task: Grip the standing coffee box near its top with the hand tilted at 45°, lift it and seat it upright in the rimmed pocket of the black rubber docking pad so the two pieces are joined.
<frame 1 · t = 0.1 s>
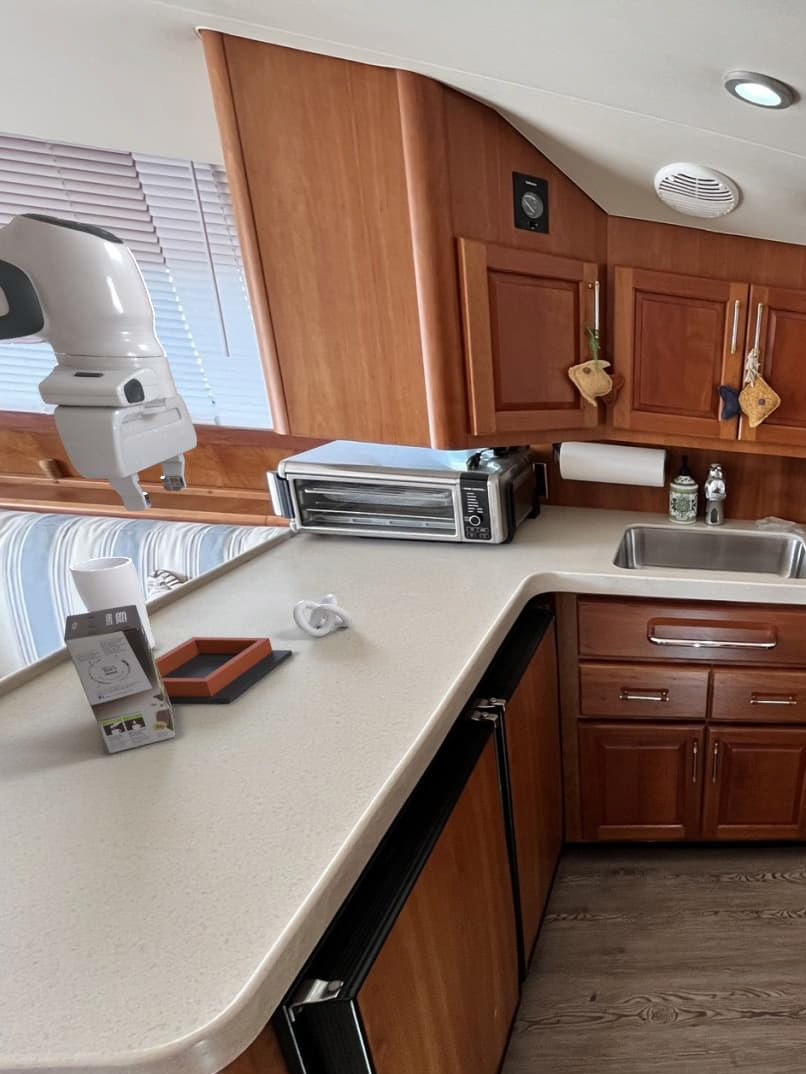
hand: (158, 499, 78), 31 cm above the table, tool pointing down, fingers open, 8 cm apart
knot: (330, 630, 114), on the table
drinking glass: (133, 651, 102), on the table
dock pad: (205, 676, 97), on the table
coffee box: (143, 731, 85), on the table
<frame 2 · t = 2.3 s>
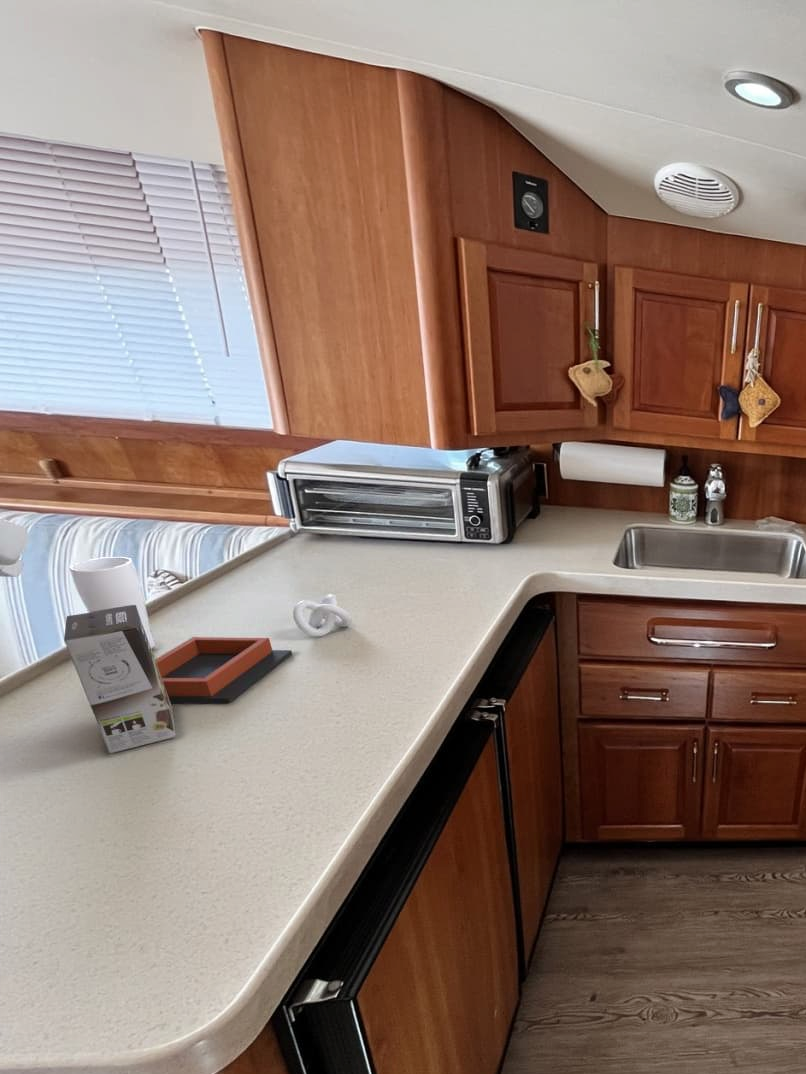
nothing on the table moved.
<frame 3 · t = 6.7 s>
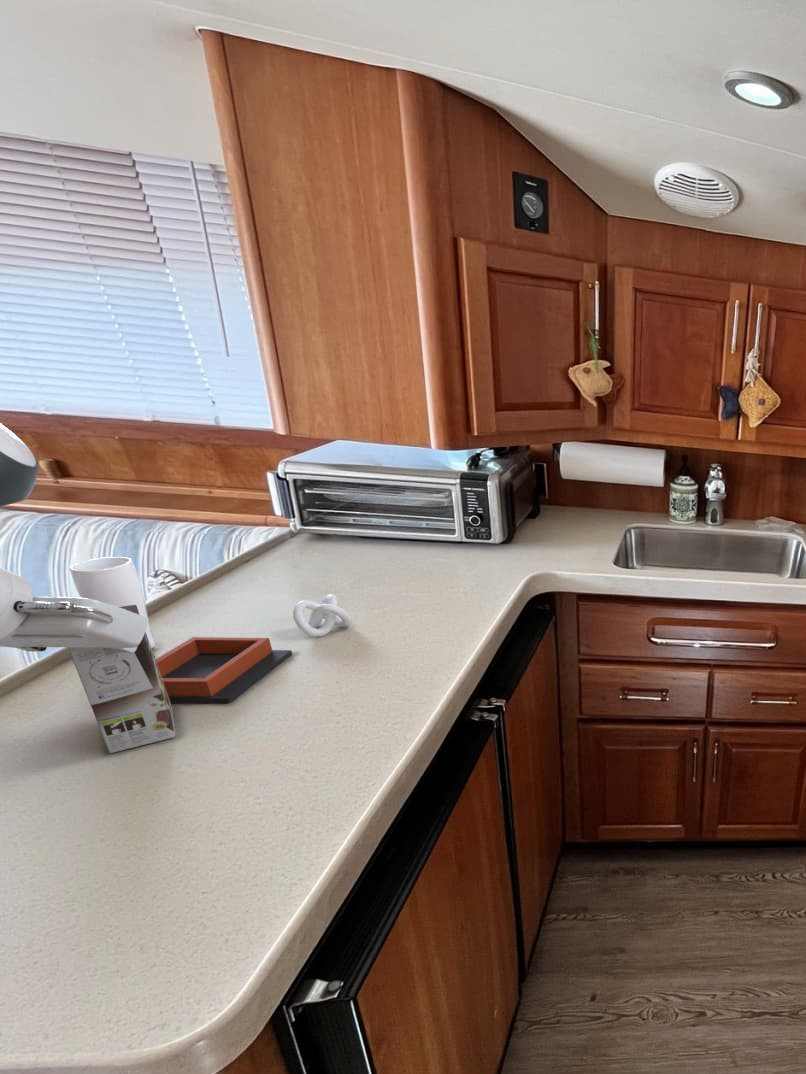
hand: (86, 645, 76), 14 cm above the table, tool tilted 45°, fingers open, 8 cm apart
coffee box: (143, 730, 85), on the table, touching gripper
everything else where it was.
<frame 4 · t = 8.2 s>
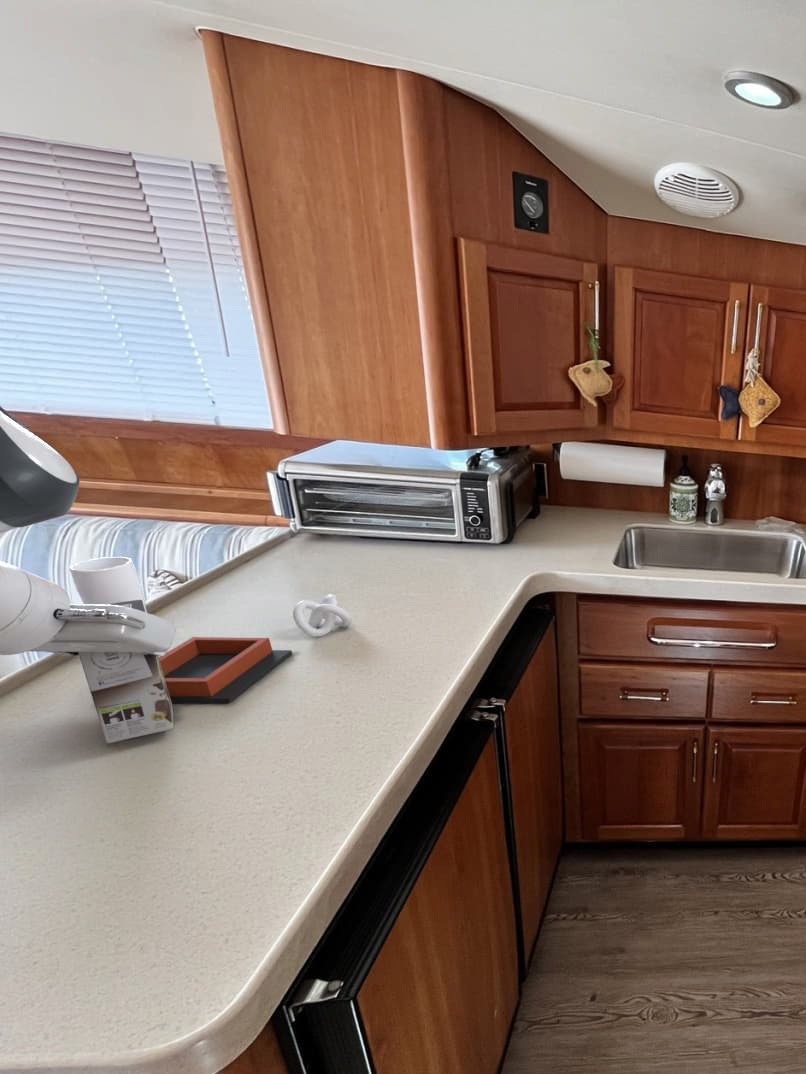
hand: (117, 650, 80), 12 cm above the table, tool tilted 45°, fingers closed on coffee box, 8 cm apart
coffee box: (142, 726, 84), on the table, touching gripper
everything else where it was.
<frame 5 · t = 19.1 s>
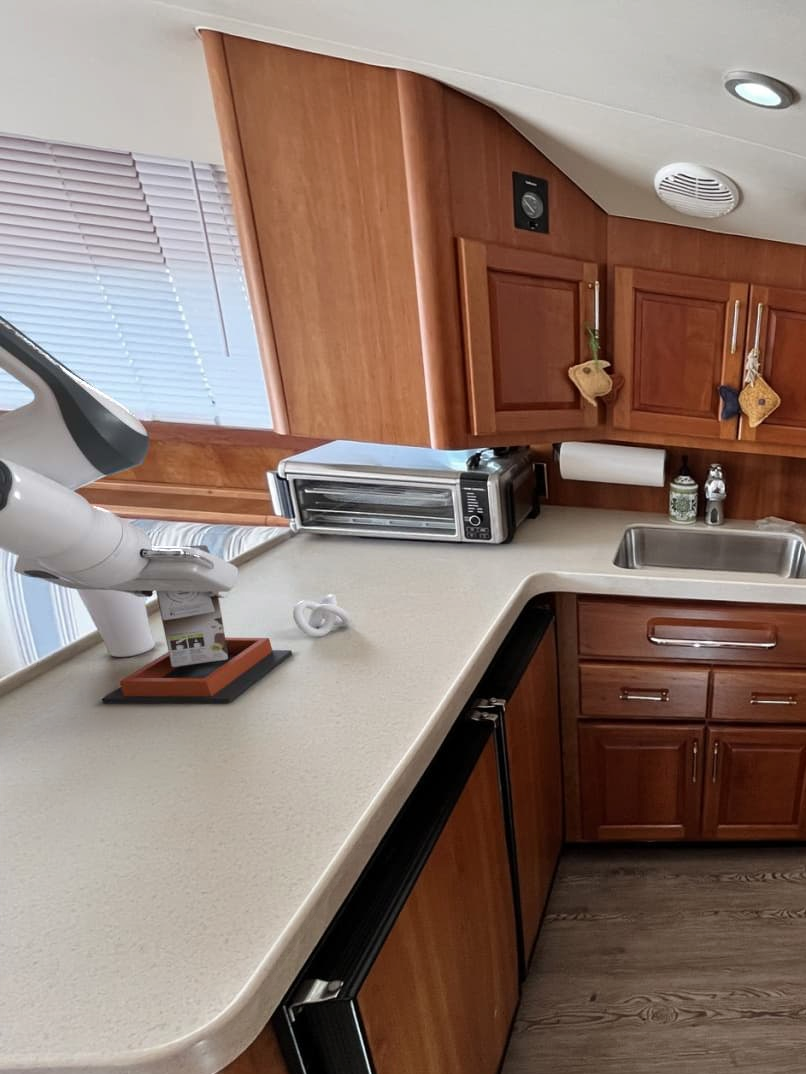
hand: (185, 592, 92), 14 cm above the table, tool tilted 45°, fingers closed on coffee box, 8 cm apart
coffee box: (199, 656, 96), point 3 cm above the table, touching dock pad, gripper
everything else where it was.
when the fingers open (13 cm above the table, at t = 20.2 s): coffee box stays where it is, resting on dock pad.
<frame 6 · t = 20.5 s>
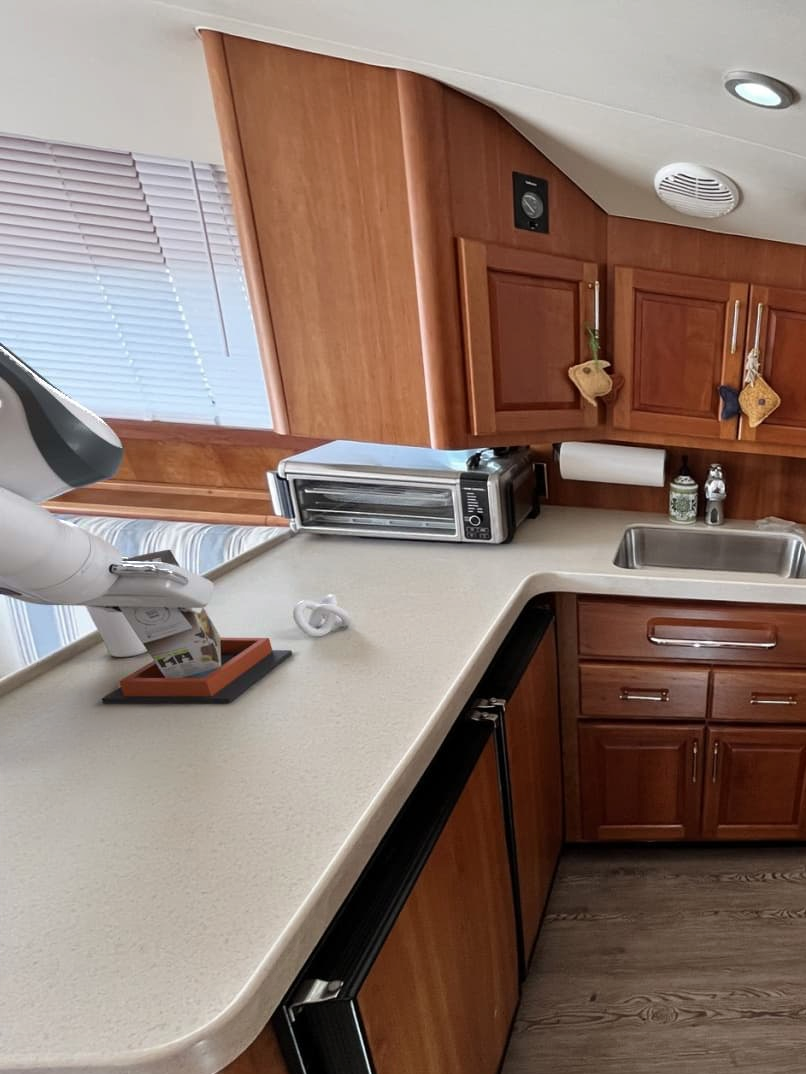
hand: (158, 607, 88), 13 cm above the table, tool tilted 45°, fingers open, 8 cm apart
coffee box: (196, 659, 96), point 3 cm above the table, touching dock pad, gripper
everything else where it was.
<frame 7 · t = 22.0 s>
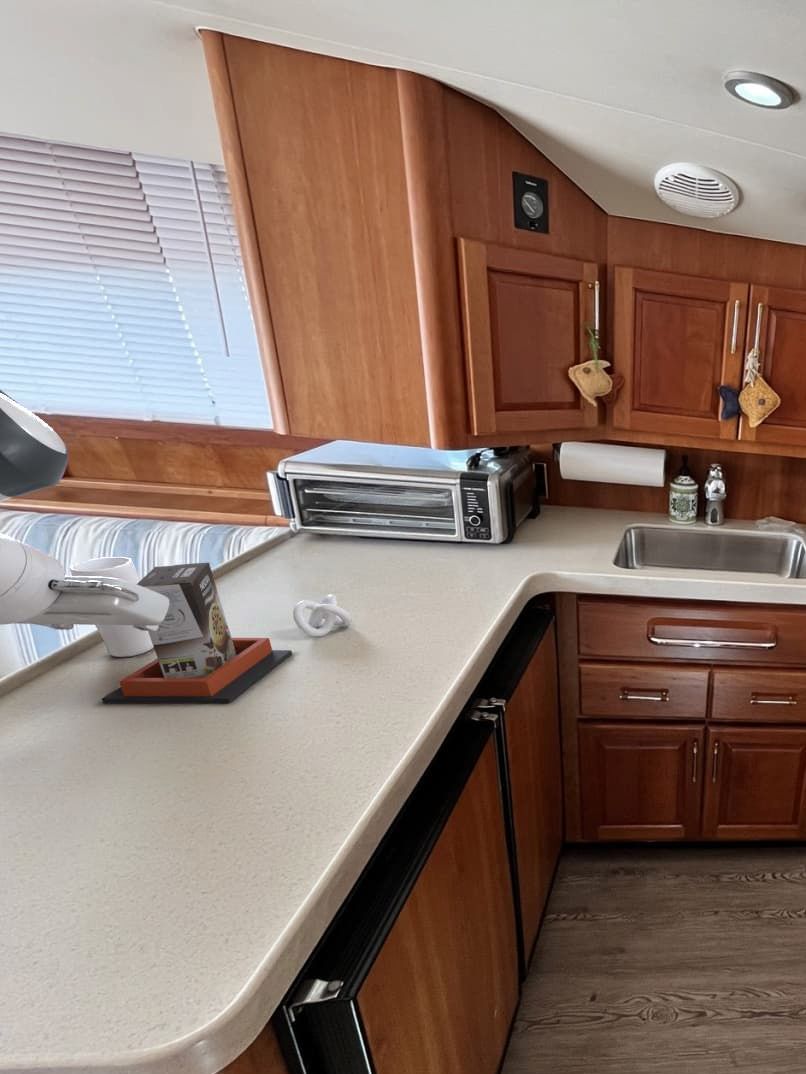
hand: (110, 624, 81), 14 cm above the table, tool tilted 45°, fingers open, 8 cm apart
coffee box: (204, 672, 97), point 1 cm above the table, touching dock pad
everything else where it was.
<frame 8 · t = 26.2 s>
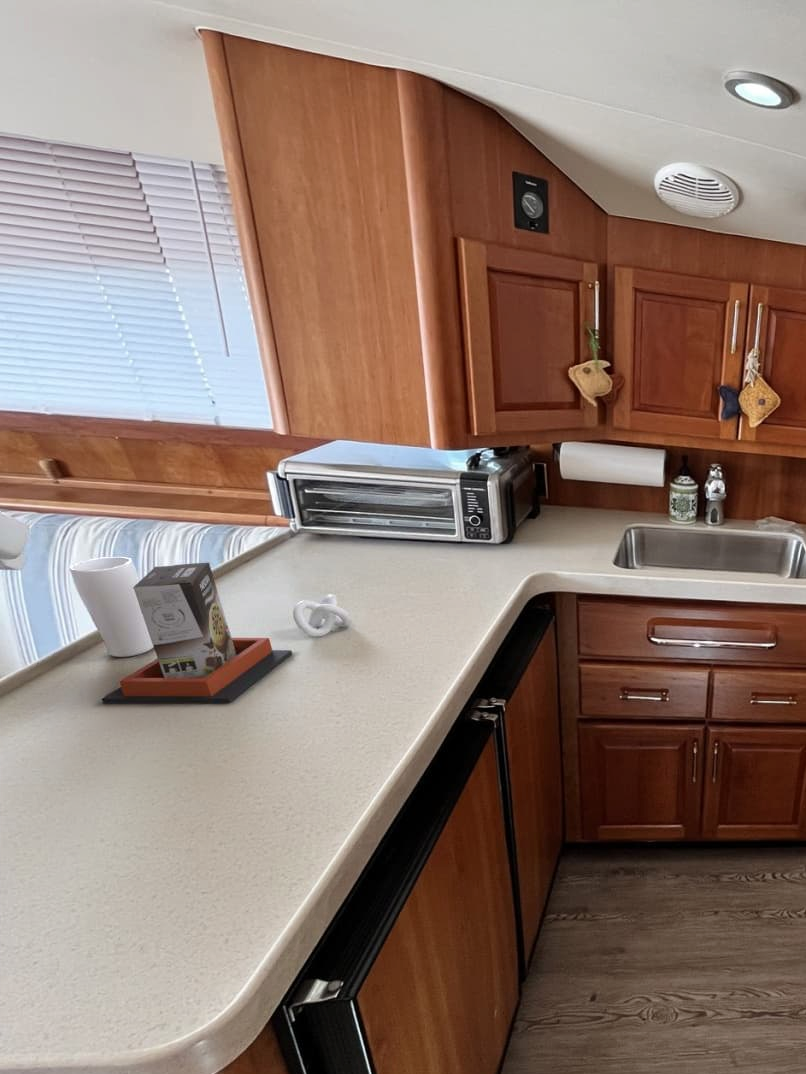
nothing on the table moved.
at the end: coffee box 0.3 cm off-centre on the dock pad, point 0.6 cm above the dock pad's base; coffee box tilted 0°; the gripper is holding nothing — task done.
